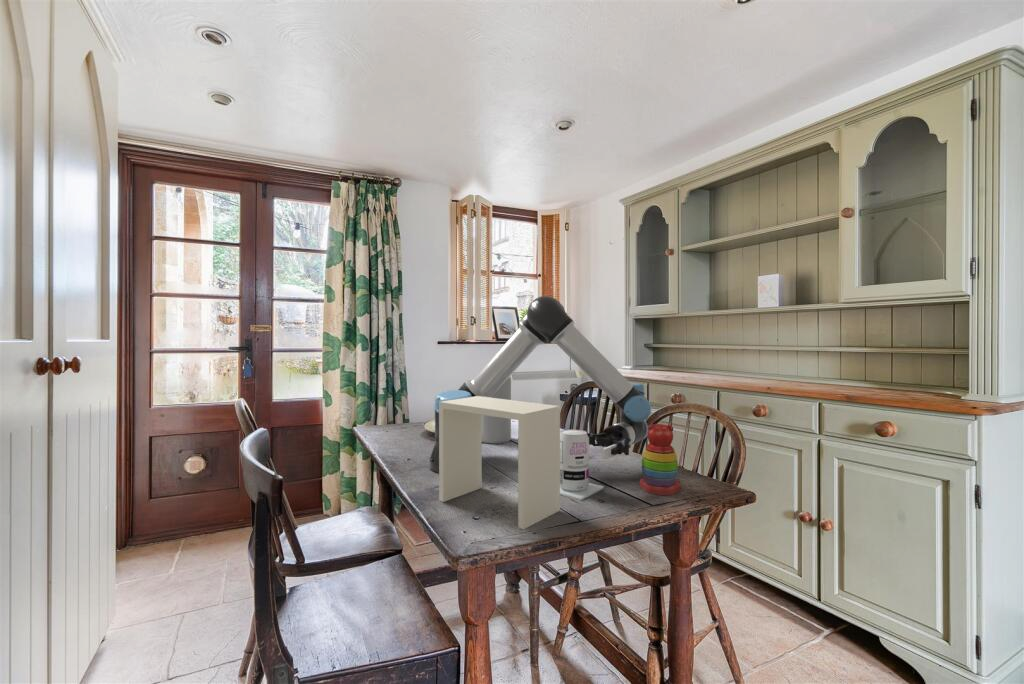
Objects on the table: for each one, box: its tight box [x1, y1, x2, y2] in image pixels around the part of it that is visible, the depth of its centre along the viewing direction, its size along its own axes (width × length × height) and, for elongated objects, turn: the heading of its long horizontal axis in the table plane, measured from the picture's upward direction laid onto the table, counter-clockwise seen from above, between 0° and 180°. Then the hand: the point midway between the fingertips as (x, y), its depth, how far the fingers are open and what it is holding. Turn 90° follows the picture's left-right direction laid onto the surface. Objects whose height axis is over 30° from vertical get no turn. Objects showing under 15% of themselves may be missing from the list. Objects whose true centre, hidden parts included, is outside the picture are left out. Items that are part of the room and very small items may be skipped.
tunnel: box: [438, 396, 561, 530], centre depth 115 cm, size 14×27×25 cm, turn 51°
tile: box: [560, 482, 605, 501], centre depth 127 cm, size 12×12×1 cm
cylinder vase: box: [482, 375, 512, 445], centre depth 184 cm, size 12×12×25 cm
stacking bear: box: [639, 423, 682, 496], centre depth 127 cm, size 11×10×18 cm
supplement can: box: [560, 429, 590, 492], centre depth 127 cm, size 8×8×15 cm
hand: (581, 449), depth 129 cm, fingers open, 13 cm apart
